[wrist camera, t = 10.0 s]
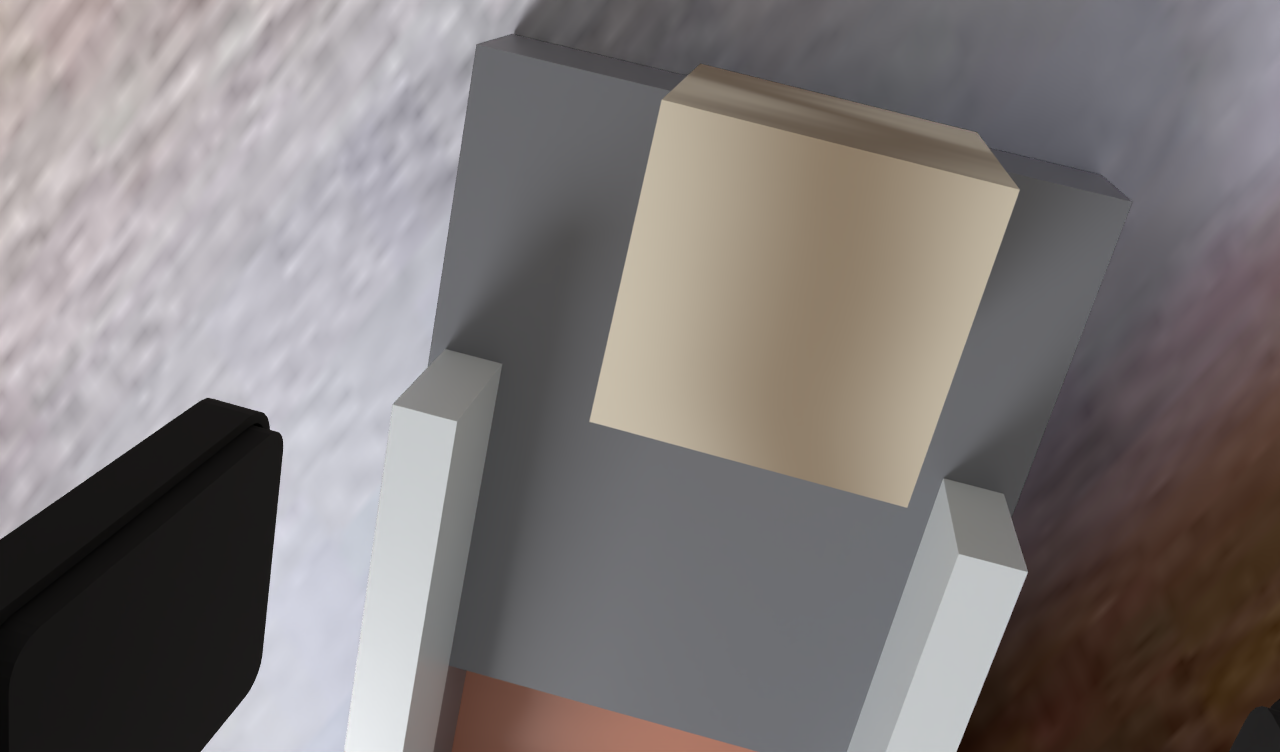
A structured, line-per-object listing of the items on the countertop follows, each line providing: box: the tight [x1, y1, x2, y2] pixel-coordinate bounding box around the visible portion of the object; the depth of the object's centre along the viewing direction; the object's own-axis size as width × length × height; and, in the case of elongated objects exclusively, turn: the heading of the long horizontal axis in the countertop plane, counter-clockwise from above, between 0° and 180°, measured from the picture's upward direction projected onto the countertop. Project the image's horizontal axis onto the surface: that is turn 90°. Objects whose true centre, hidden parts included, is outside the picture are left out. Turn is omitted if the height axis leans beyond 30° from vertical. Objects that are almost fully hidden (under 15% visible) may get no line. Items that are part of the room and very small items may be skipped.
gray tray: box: [344, 34, 1132, 752], centre depth 24 cm, size 22×12×6 cm, turn 168°
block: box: [589, 64, 1020, 508], centre depth 19 cm, size 5×5×5 cm
